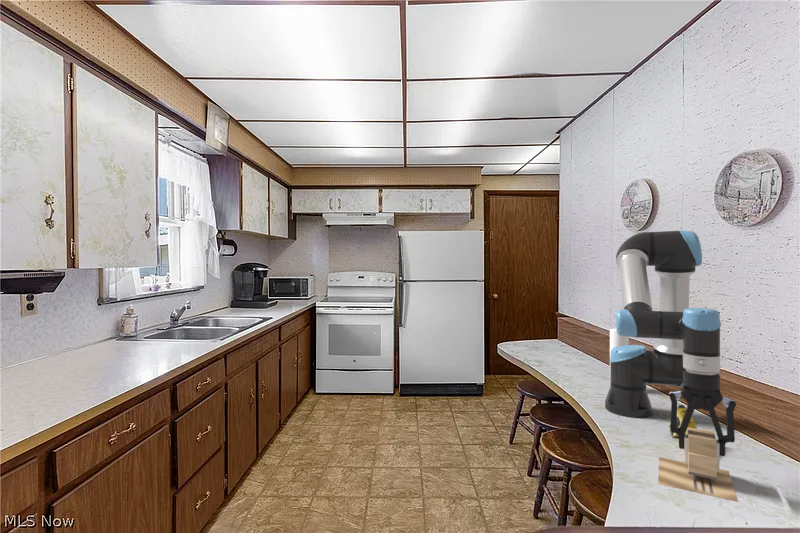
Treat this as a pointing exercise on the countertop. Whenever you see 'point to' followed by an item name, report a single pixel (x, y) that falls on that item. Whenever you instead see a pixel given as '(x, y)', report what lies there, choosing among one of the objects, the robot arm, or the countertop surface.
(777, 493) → the countertop surface
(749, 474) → the countertop surface
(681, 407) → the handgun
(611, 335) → the cylindrical container
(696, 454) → the block
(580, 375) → the countertop surface
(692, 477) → the board
